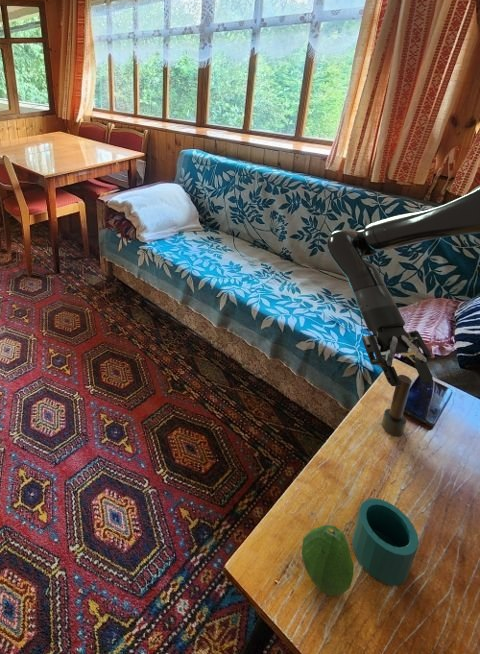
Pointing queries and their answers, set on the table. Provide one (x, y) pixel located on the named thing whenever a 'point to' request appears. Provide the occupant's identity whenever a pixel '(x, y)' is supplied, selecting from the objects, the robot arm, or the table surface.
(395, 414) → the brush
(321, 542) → the avocado
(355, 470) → the table surface
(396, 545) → the jar
